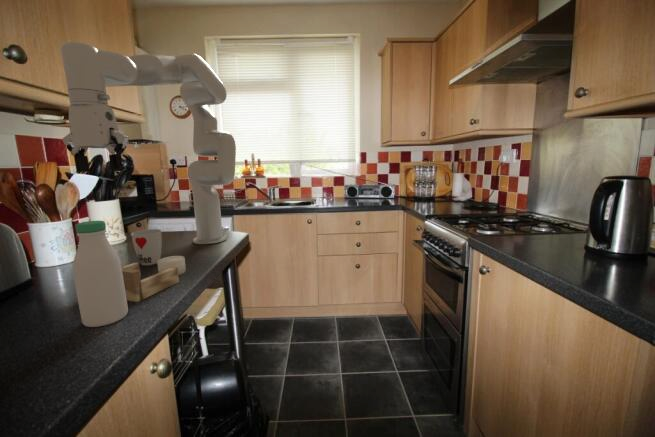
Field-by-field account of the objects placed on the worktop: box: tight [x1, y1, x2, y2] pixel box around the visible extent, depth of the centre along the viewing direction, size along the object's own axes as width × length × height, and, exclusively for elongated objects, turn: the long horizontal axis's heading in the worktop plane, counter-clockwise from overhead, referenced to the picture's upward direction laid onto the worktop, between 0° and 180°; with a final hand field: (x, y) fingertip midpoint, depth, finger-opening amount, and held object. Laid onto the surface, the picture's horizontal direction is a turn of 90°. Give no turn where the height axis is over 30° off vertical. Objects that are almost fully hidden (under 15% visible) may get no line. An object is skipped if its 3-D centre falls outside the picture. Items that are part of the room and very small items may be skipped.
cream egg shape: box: [156, 255, 187, 276], centre depth 89 cm, size 7×7×4 cm
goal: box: [121, 262, 180, 303], centre depth 78 cm, size 12×15×7 cm
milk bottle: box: [72, 220, 129, 328], centre depth 61 cm, size 8×8×20 cm
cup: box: [130, 228, 163, 266], centre depth 97 cm, size 8×8×10 cm
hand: (100, 171), depth 79 cm, fingers open, 9 cm apart
